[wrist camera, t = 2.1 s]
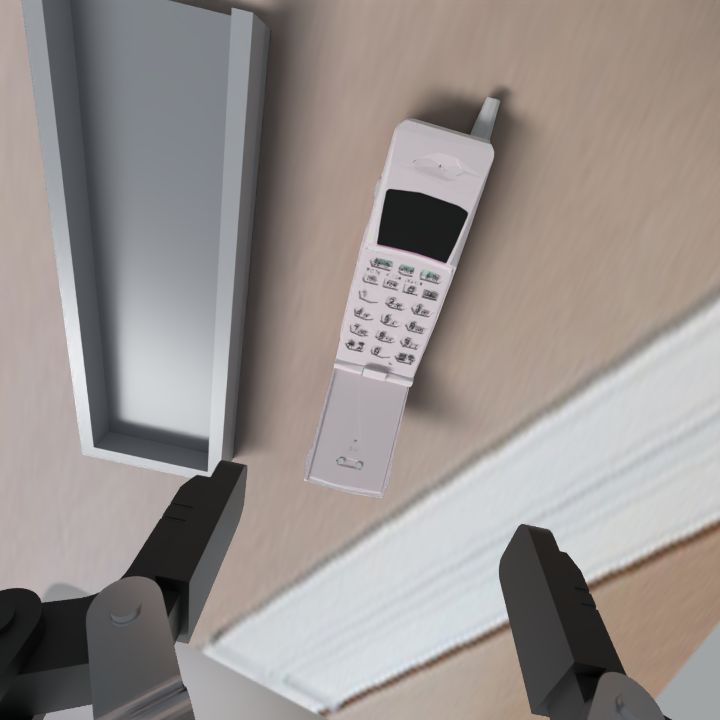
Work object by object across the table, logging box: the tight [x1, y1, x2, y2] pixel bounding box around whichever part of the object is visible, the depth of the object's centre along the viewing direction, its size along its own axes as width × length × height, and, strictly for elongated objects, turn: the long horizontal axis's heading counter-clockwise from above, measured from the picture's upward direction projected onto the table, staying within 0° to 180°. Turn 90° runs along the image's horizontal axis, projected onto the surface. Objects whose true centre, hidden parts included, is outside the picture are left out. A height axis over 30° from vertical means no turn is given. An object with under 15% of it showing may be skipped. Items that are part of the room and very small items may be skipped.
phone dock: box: [21, 0, 271, 478], centre depth 27 cm, size 30×11×3 cm, turn 168°
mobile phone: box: [304, 97, 500, 498], centre depth 26 cm, size 6×6×25 cm
